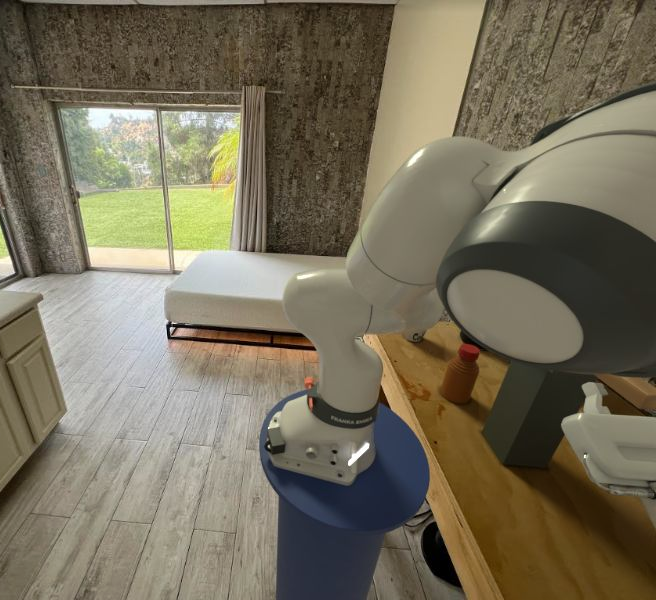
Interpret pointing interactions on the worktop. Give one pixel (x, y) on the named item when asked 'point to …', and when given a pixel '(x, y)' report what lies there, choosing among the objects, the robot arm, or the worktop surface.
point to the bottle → (459, 380)
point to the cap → (469, 352)
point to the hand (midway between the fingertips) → (627, 385)
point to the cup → (415, 336)
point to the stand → (532, 413)
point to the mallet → (632, 390)
